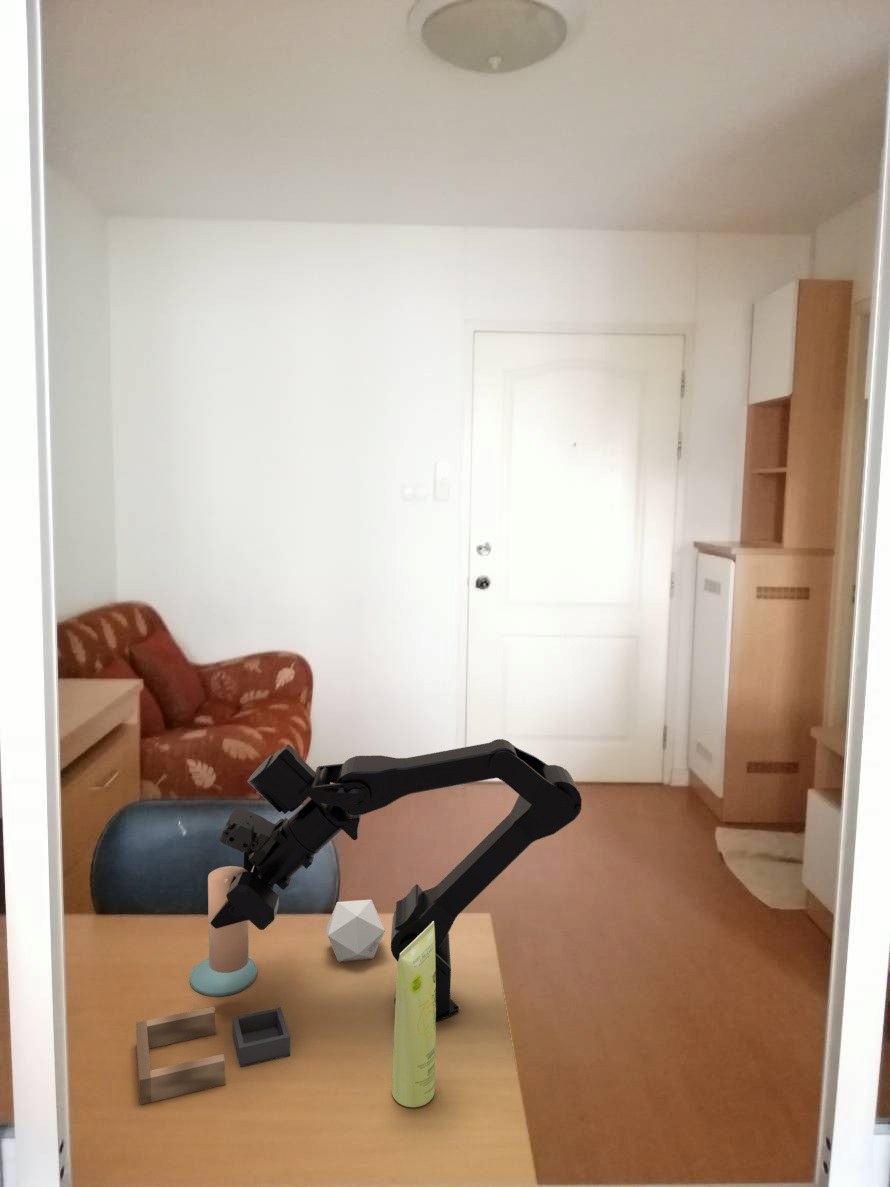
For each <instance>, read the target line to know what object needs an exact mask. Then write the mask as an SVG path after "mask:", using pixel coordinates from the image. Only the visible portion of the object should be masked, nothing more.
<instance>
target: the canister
mask: <svg viewBox="0 0 890 1187" xmlns="http://www.w3.org/2000/svg"><path fill="white" fill-rule="evenodd" d="M242 872H248V871H247V870H246V869H244V868H243V867H242V866H235V865H234V866H233V865H229V866H221V867H218V868H215V869H214V870H212V871H211V872H209V874H208V877H207V897H208V898H207V900H208V901H207V902H208V903H207V904H208V908H207V910H208V913H207V914H208V915H207V916H208V958H209V966H210V968H211V969H212V970H214V971H216V972H220V973H230V972H235V971H238V970H240V969H242V968H243V967H245V966H246V965H247V963H248V961H249V958H250V957H249V956H250V954H249V942H250V940H249V939H250V938H249V920H247V921H243V922H239V923H235V924H231V925H228V926H224V927H221V928H217V929H216V928H214V927H213V926H212V925H211V924H210V923H211V921H212V919H213V918H214V917H215V915H216V914H217V912H218V911H219V910H220V909H221V907H222V906H223V905H224V903H225V902H226V901H227V900H228V899H227V896H226V894H227V892H228V890H229V886H230V884H231V881H232V879H233V877H234V876H235V877H236V878H237V877H238V876H239V875H240V874H241V873H242Z"/></svg>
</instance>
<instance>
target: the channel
mask: <svg viewBox="0 0 890 1187" xmlns="http://www.w3.org/2000/svg"><path fill="white" fill-rule="evenodd" d="M135 1029H136V1030H135V1031H136V1032H135V1034H136V1035H135V1036H136V1054H137V1055H136V1056H137V1075H138V1076H137V1077H138V1092H139V1106H141V1105H145V1104H150V1103H154V1102H157V1101H162V1100H165V1099H170V1098H175V1097H178V1096H182V1095H186V1094H190V1093H191V1094H192V1093H195V1092H199V1091H202V1090H203V1091H204V1090H206V1089H207V1090H208V1089H210V1088H214V1087H216V1088H217V1087H219V1086H223V1085H226V1076H225V1075H226V1068H225V1067H226V1063H225V1061H226V1060H225V1055H224V1053H222V1054H221V1053H220V1054H217V1055H212V1056H208V1057H204V1058H200V1059H195V1060H191V1061H185V1062H181V1063H177V1064H173V1065H170V1066H163V1067H160V1068H155V1069H152V1070H151V1063H150V1060H151V1059H150V1049H154V1048H158V1047H162V1046H167V1045H172V1044H176V1043H181V1042H185V1041H190V1040H194V1039H195V1040H196V1039H199V1038H204V1037H208V1036H212V1035H213V1036H214V1035H216V1012H215V1006H210V1007H205V1008H200V1009H194V1010H190V1011H186V1012H180V1013H177V1014H175V1013H174V1014H172V1015H166V1016H162V1017H161V1016H160V1017H156V1018H151V1019H146V1020H143V1021H137V1022H136V1023H135Z"/></svg>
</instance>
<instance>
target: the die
mask: <svg viewBox="0 0 890 1187" xmlns="http://www.w3.org/2000/svg"><path fill="white" fill-rule="evenodd" d="M375 907H376V906H375V904H374V902H373V900H372V899H361V900H360V899H359V900H358V899H357V900H346V901H337V902H336V904H335V906H334V908H333V911H332V914H331V916H330V918H329V921H328V924H327V926H326V928H325V931H326V935H327V938H328V940H329V943H330V944H331V947H332V950H333V952H334V954H335V957H336V959H337V962H351V961H360V960H370V959H371V960H372V959H373V960H374V958H375V956H376V953H377V950H378V947H380V944H381V941H382V938H383V936H384V934H385V932H386V931H385V928H384V926H383V923H382V921H381V919H380V917H379V913H378V911H377V909H376V908H375Z"/></svg>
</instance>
